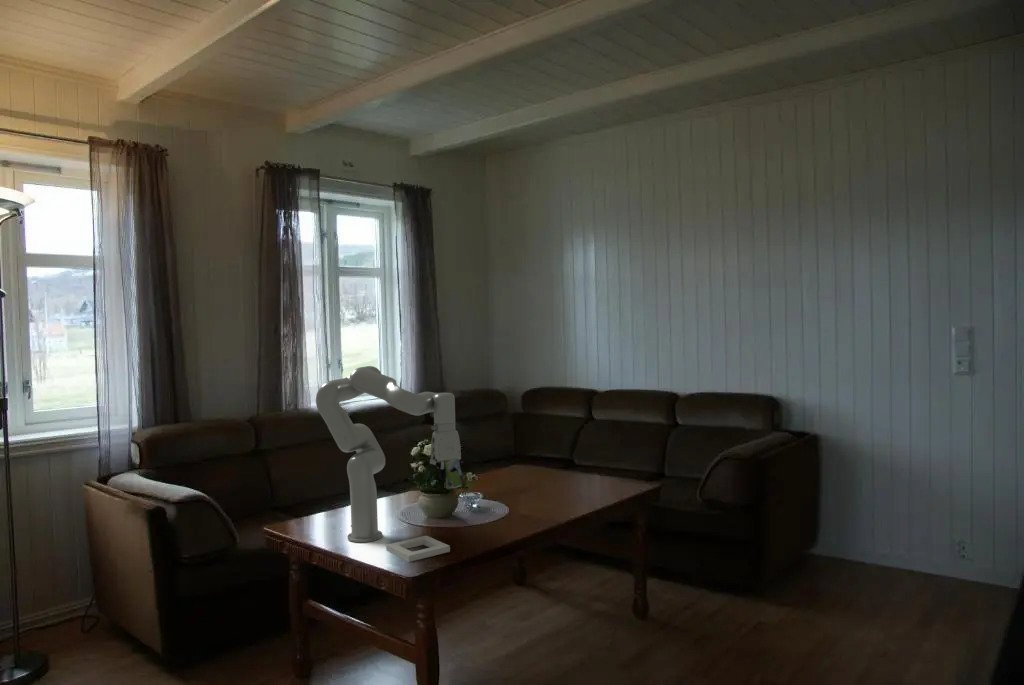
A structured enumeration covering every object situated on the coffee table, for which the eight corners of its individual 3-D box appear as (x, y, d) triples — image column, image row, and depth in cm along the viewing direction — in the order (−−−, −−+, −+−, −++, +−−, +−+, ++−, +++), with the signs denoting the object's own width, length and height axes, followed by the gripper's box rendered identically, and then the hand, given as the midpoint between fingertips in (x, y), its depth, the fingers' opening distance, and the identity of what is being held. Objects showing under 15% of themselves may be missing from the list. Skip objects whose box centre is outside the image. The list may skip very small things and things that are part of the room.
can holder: (386, 550, 254) (386, 544, 254) (426, 540, 264) (426, 535, 263) (408, 562, 241) (408, 556, 241) (450, 551, 251) (449, 545, 251)
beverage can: (467, 486, 262) (464, 453, 261) (450, 490, 257) (448, 456, 256) (456, 484, 266) (454, 451, 266) (440, 488, 261) (437, 455, 261)
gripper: (430, 431, 252) (432, 484, 252) (469, 426, 261) (470, 477, 262) (419, 429, 258) (421, 480, 258) (458, 424, 267) (459, 474, 268)
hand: (446, 478), depth 260 cm, fingers closed on beverage can
